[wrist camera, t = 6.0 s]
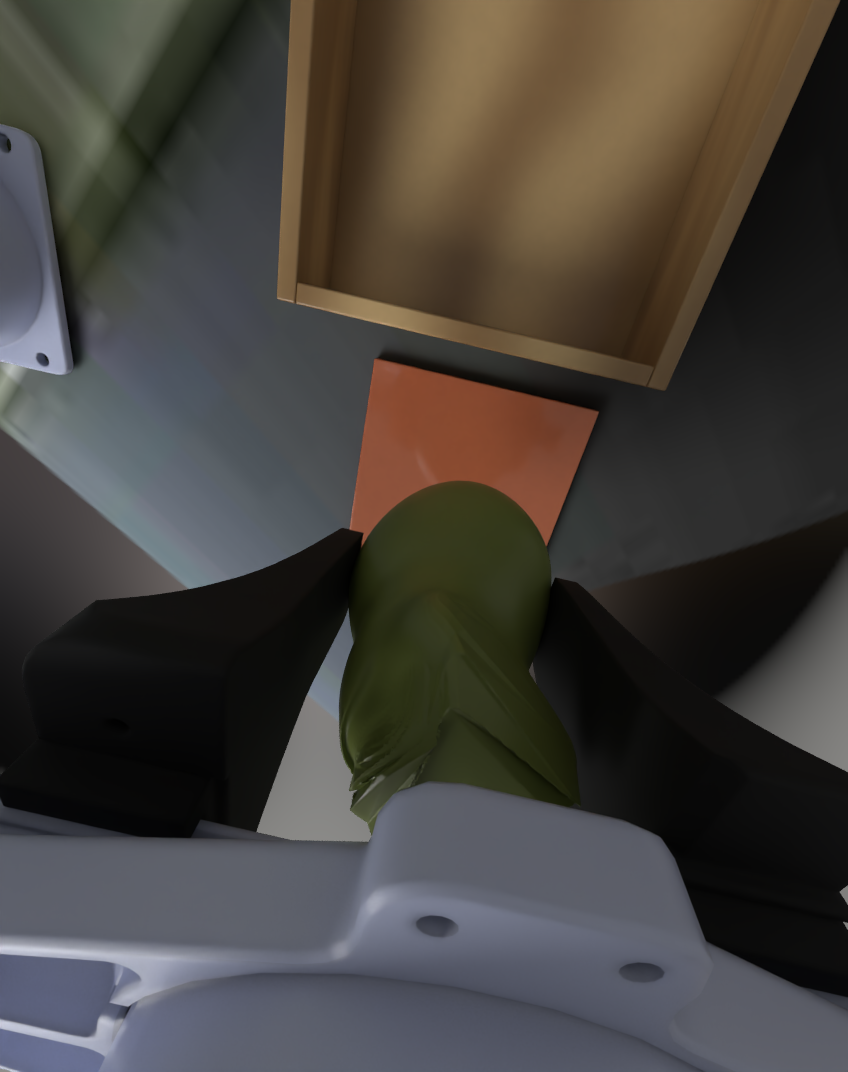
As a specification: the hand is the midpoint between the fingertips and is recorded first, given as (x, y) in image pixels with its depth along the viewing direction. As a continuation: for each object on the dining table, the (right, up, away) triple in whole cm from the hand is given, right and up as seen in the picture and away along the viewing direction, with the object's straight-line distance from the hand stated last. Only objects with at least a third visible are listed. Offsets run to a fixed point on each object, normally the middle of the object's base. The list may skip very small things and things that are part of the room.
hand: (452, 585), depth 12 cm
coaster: (+1, +4, +7) cm, 8 cm away
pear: (0, +2, +3) cm, 4 cm away
